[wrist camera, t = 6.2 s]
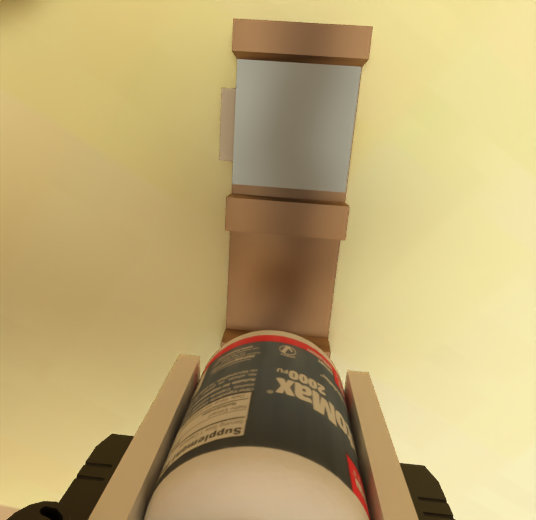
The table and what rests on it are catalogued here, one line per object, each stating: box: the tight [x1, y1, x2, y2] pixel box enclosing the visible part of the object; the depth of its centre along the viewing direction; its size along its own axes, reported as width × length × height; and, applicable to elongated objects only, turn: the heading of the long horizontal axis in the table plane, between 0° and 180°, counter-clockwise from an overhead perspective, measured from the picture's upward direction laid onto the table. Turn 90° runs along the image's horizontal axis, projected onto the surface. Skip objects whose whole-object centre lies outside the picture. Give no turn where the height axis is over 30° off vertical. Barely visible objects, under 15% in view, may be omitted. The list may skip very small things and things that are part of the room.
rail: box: [219, 19, 373, 359], centre depth 22 cm, size 7×30×9 cm, turn 176°
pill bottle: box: [144, 330, 370, 520], centre depth 10 cm, size 5×5×9 cm
